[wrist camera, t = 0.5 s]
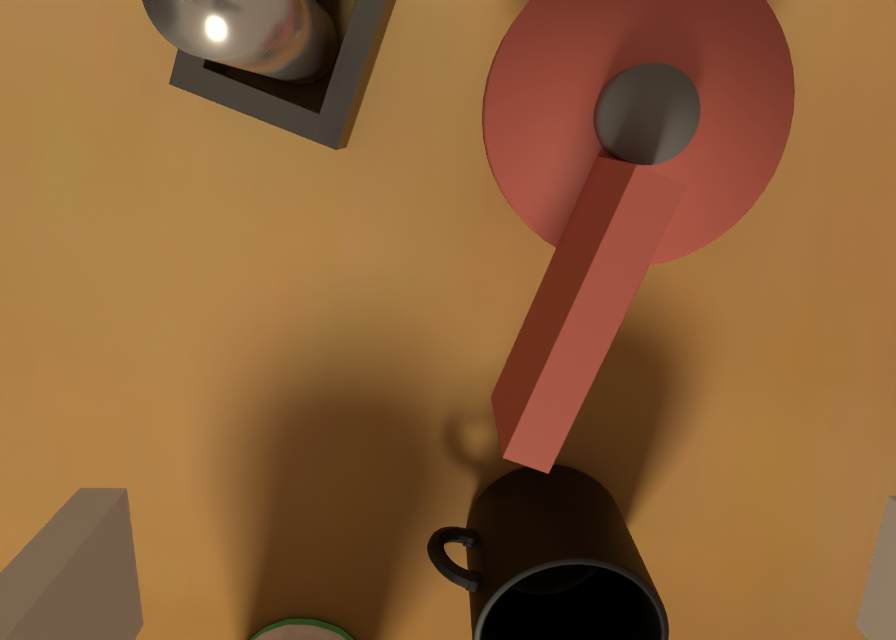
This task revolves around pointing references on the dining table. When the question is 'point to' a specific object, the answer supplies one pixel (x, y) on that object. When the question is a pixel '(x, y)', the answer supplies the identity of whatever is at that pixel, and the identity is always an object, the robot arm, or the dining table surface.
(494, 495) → the mug
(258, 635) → the cup
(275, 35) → the peg
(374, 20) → the collar
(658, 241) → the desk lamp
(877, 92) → the dining table surface
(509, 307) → the dining table surface
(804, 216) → the dining table surface
